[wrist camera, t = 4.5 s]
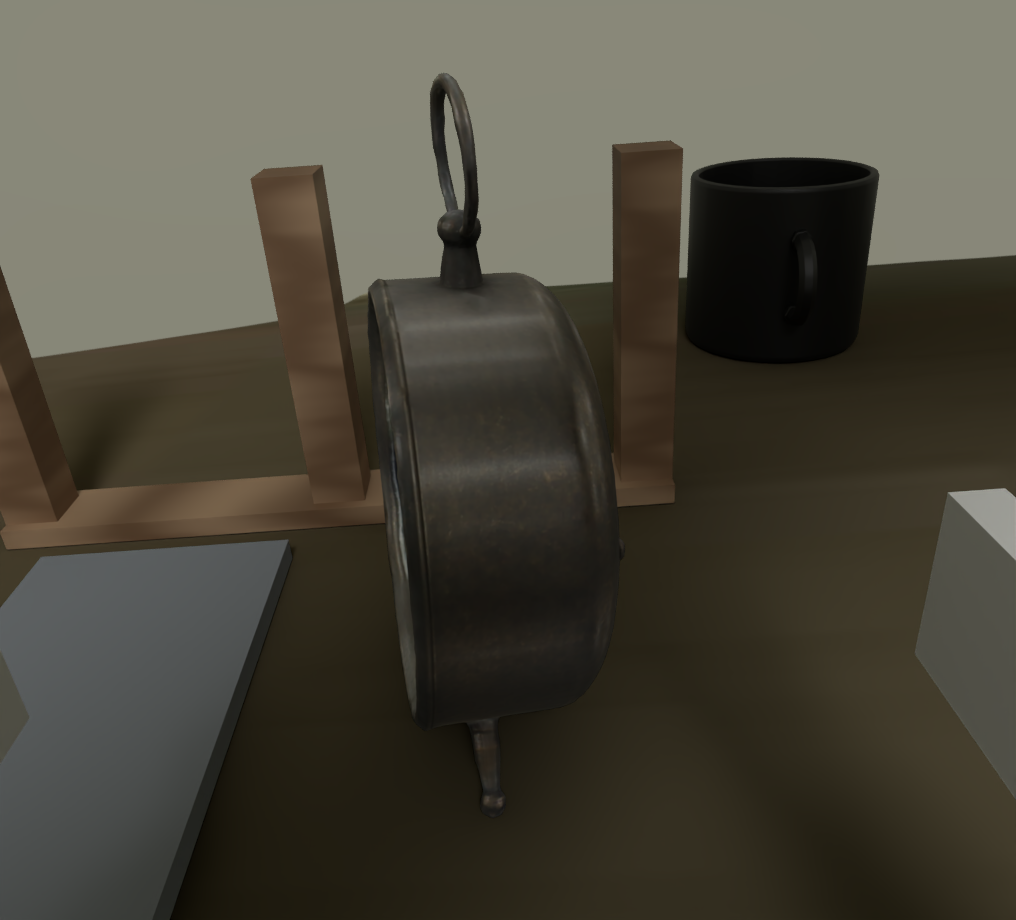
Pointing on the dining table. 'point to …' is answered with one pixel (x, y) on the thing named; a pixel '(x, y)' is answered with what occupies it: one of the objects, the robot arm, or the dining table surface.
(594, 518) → the alarm clock
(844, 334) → the mug
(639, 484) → the slalom posts
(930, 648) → the robot arm
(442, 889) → the dining table surface
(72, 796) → the pad
